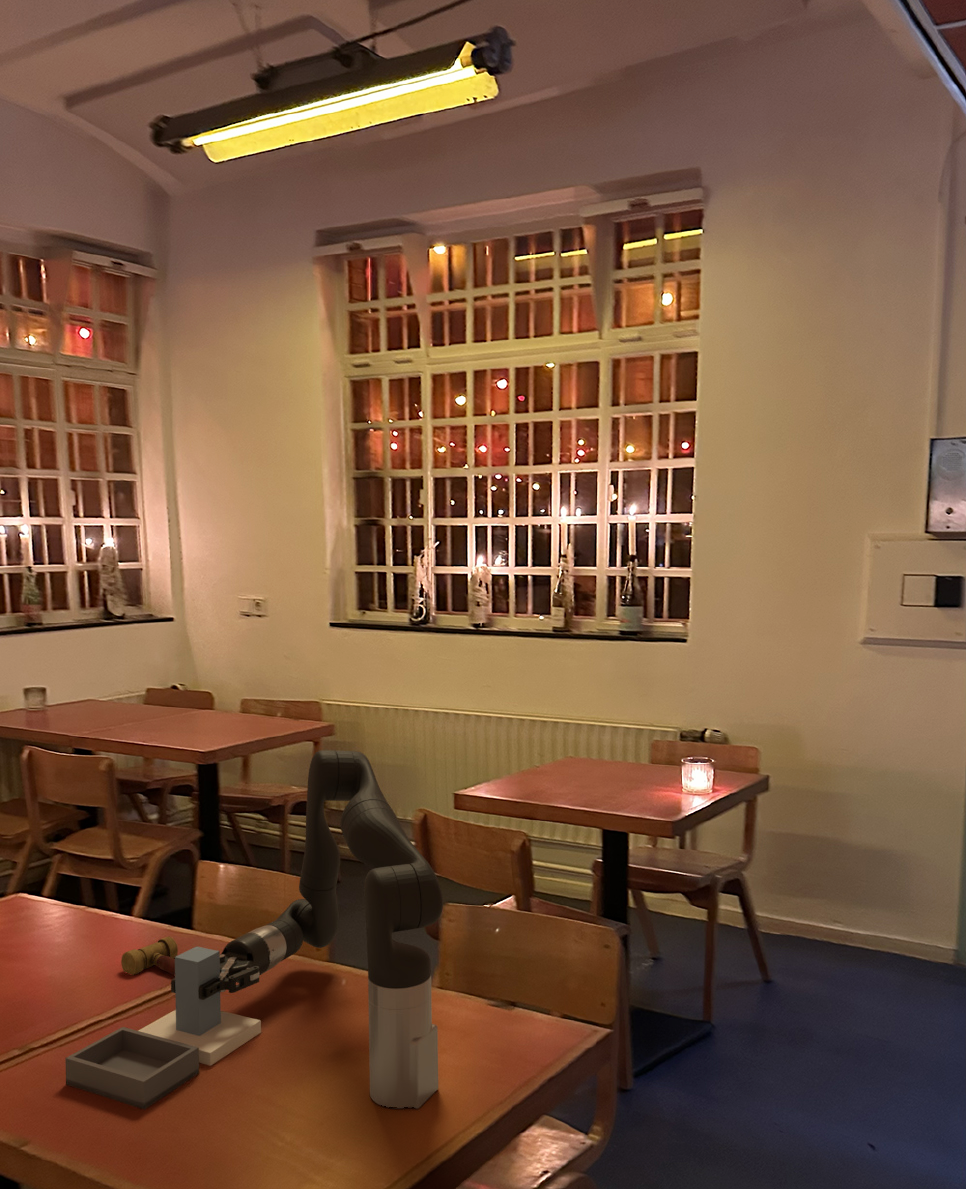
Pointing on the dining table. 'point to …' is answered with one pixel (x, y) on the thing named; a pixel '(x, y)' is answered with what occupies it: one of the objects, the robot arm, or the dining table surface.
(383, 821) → the robot arm
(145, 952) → the gavel
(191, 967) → the tile block
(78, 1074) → the tray
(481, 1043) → the dining table surface
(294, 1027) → the dining table surface
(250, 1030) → the bench board
